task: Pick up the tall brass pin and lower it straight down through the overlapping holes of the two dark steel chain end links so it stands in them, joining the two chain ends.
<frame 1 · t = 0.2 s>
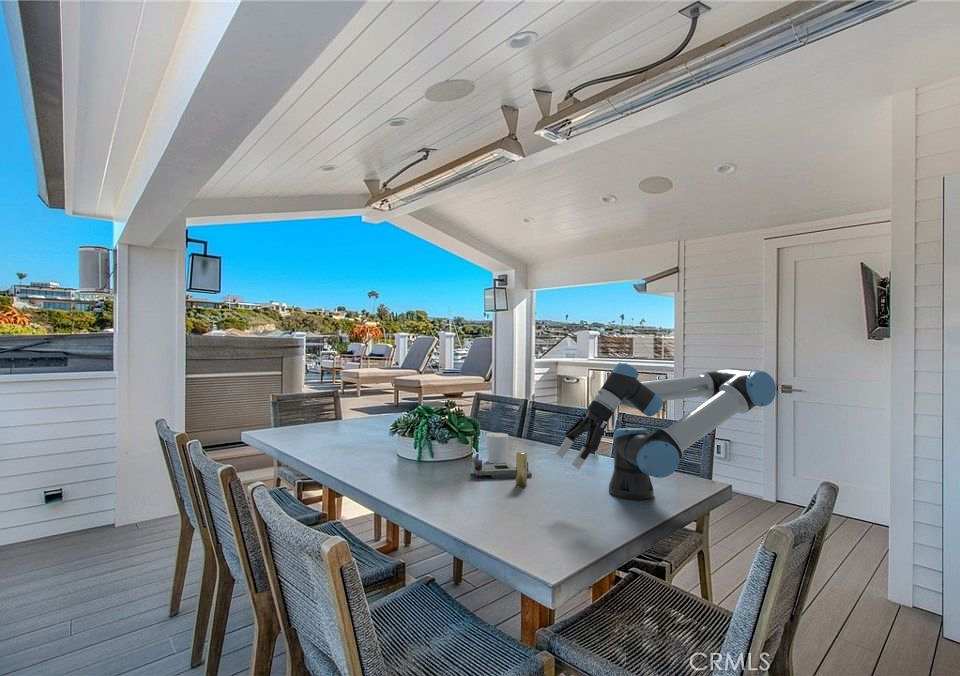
hand: (566, 461, 152), 16 cm above the table, tool tilted 35°, fingers open, 13 cm apart
candle holder: (497, 462, 213), on the table
pin: (521, 485, 178), on the table
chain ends: (501, 474, 192), on the table
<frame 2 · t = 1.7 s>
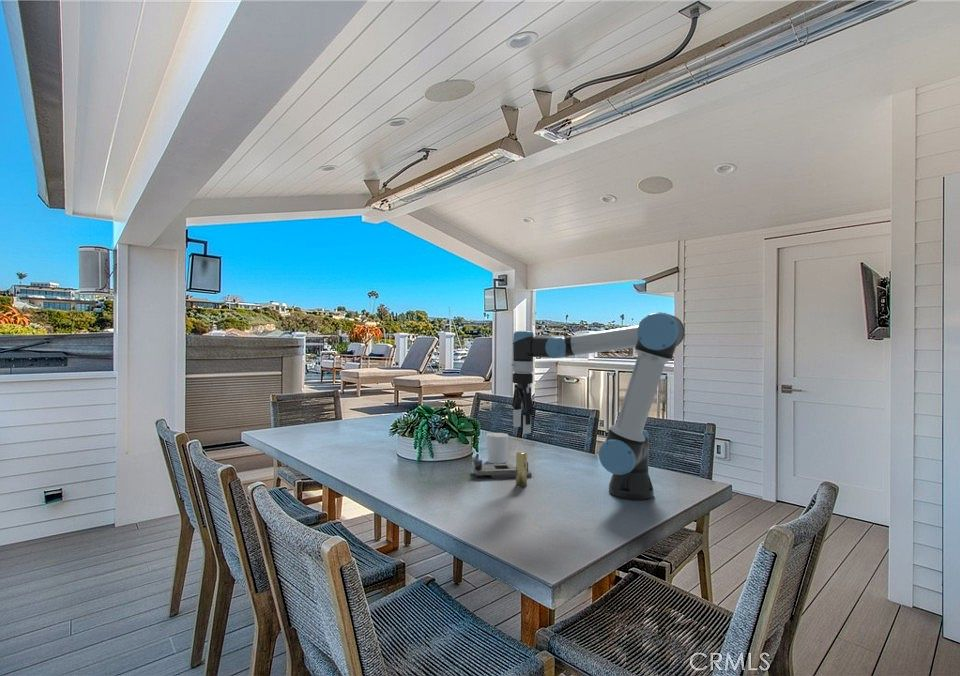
hand: (521, 429, 178), 21 cm above the table, tool pointing down, fingers open, 13 cm apart
nothing on the table moved.
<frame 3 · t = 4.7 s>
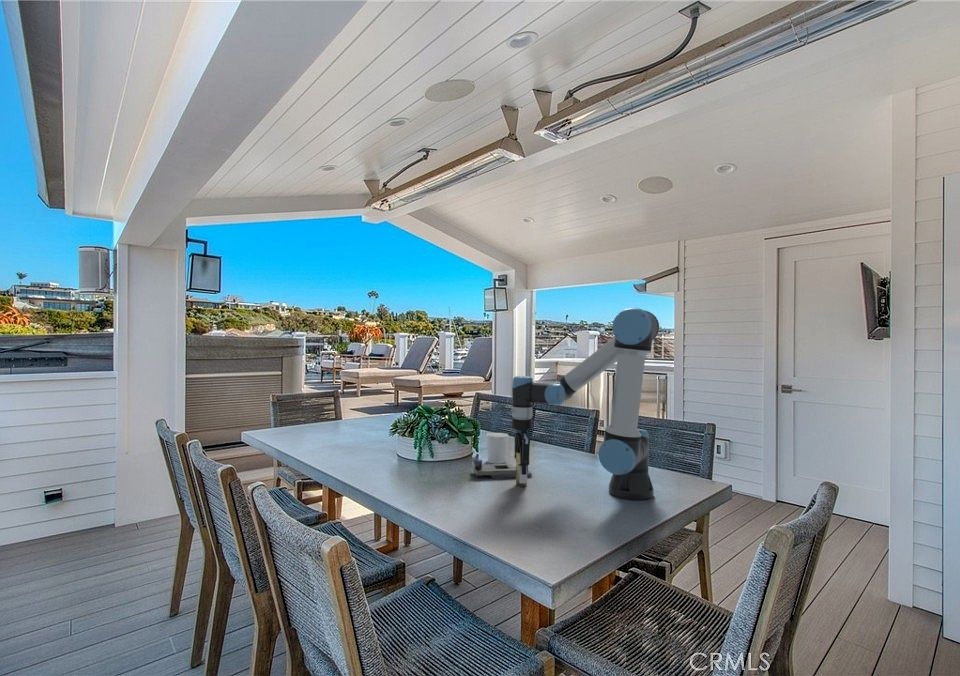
hand: (521, 481, 178), 2 cm above the table, tool pointing down, fingers closed on pin, 4 cm apart
pin: (521, 485, 178), on the table, touching gripper
everything else where it was.
when the fingers open (4 cm above the table, at t = 11.6 s): pin stays where it is, resting in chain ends.
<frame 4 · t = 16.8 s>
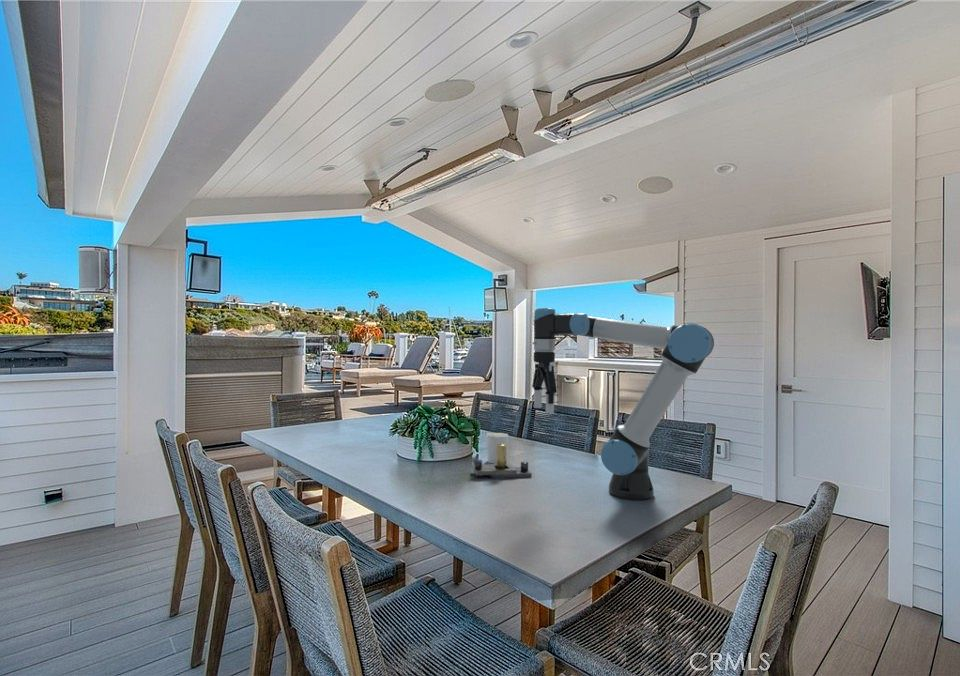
hand: (543, 410, 173), 29 cm above the table, tool pointing down, fingers open, 13 cm apart
pin: (501, 474, 192), resting in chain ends
everything else where it was.
at the end: pin 0.0 cm off-centre on the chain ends, point 0.0 cm above the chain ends's base; pin tilted 0°; the gripper is holding nothing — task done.
